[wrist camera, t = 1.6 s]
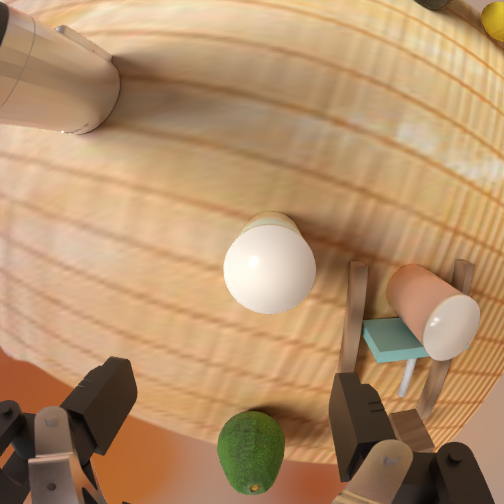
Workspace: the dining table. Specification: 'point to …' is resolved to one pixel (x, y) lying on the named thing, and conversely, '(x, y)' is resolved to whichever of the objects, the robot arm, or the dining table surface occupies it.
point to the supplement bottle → (435, 3)
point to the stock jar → (433, 311)
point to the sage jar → (270, 265)
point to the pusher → (393, 345)
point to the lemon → (494, 20)
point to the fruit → (251, 451)
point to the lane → (410, 422)
